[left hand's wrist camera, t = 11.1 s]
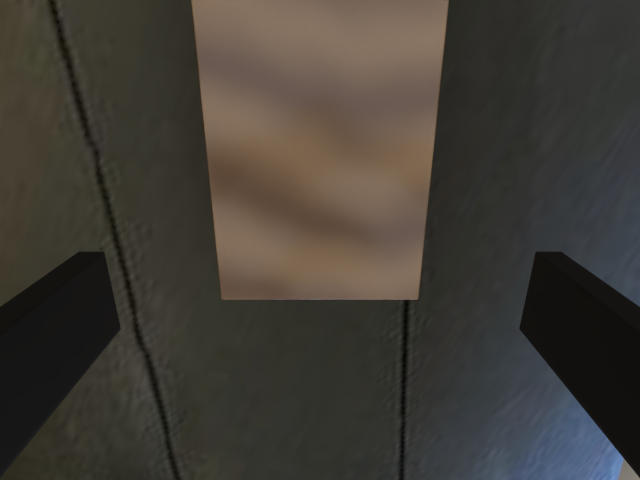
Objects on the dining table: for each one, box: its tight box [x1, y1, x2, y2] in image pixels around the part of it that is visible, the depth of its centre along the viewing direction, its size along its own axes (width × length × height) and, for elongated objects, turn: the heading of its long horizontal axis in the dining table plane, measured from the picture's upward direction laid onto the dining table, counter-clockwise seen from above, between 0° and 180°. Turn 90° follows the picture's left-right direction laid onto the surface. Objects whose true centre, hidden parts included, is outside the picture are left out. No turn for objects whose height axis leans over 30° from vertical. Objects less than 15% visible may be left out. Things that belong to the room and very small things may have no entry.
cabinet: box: [191, 0, 449, 300], centre depth 22 cm, size 21×10×9 cm, turn 0°
